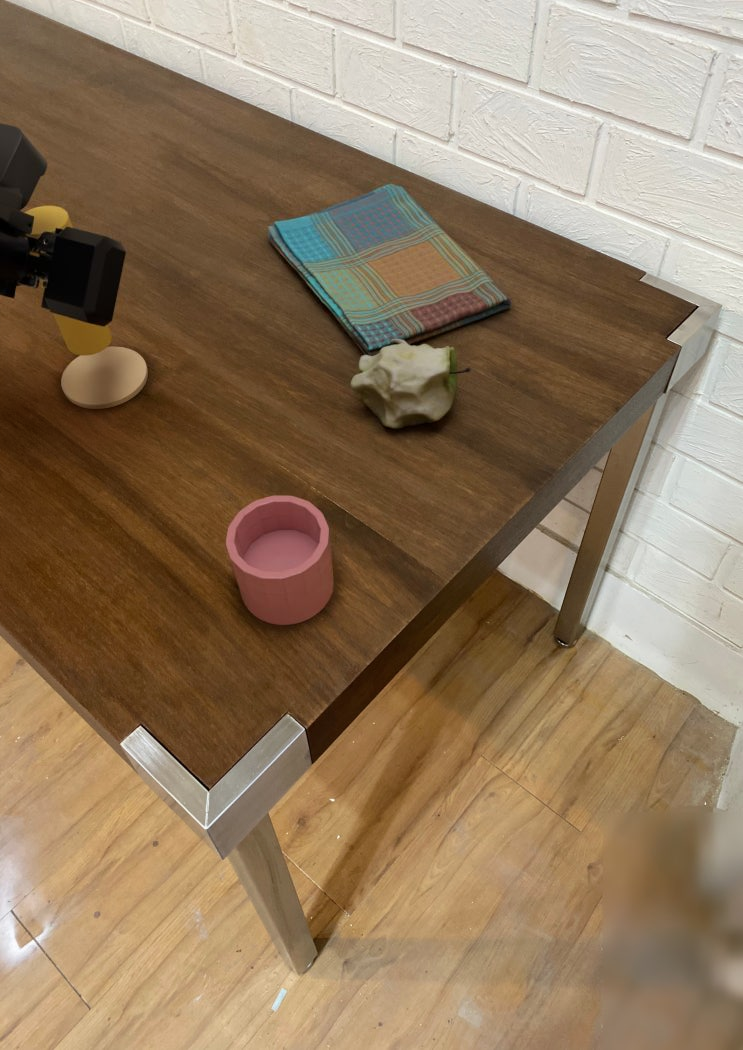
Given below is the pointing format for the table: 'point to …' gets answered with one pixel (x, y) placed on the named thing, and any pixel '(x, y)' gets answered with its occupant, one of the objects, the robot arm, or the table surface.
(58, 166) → the table surface
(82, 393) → the disc
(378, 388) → the fruit
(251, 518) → the pot
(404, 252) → the dish towel
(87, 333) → the yellow cylinder
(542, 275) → the table surface
